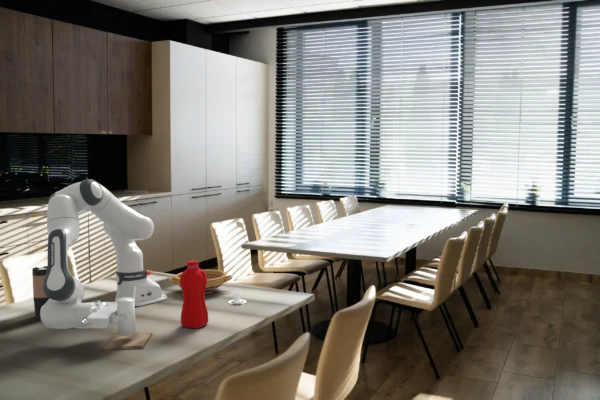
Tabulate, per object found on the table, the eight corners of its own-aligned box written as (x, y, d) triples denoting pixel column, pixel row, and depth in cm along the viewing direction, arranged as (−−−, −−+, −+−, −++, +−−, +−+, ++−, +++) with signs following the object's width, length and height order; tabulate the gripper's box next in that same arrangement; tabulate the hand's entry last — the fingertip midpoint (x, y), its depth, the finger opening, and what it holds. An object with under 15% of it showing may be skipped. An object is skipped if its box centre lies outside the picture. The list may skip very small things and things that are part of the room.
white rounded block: (132, 329, 212) (130, 296, 211) (138, 333, 207) (137, 299, 206) (115, 332, 208) (114, 299, 207) (121, 336, 203) (119, 302, 202)
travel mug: (47, 319, 236) (44, 270, 234) (30, 318, 238) (27, 269, 236) (59, 314, 243) (56, 266, 242) (42, 313, 245) (39, 265, 243)
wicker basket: (166, 299, 265) (165, 281, 265) (172, 286, 290) (172, 270, 289) (232, 296, 268) (232, 279, 267) (233, 284, 292) (233, 268, 291)
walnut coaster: (101, 349, 200) (101, 346, 200) (113, 336, 214) (113, 333, 214) (143, 348, 201) (143, 345, 201) (152, 335, 215) (152, 332, 215)
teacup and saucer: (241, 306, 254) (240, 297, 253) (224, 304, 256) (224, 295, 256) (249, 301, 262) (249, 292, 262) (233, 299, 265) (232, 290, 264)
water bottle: (213, 321, 231) (211, 258, 228) (199, 329, 220) (197, 263, 218) (192, 319, 234) (190, 257, 231) (177, 327, 223) (175, 262, 221)
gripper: (78, 315, 196) (120, 314, 196) (97, 299, 216) (135, 298, 217) (78, 333, 196) (120, 333, 197) (98, 316, 217) (136, 315, 217)
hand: (128, 314), depth 207 cm, fingers closed on white rounded block, 6 cm apart
